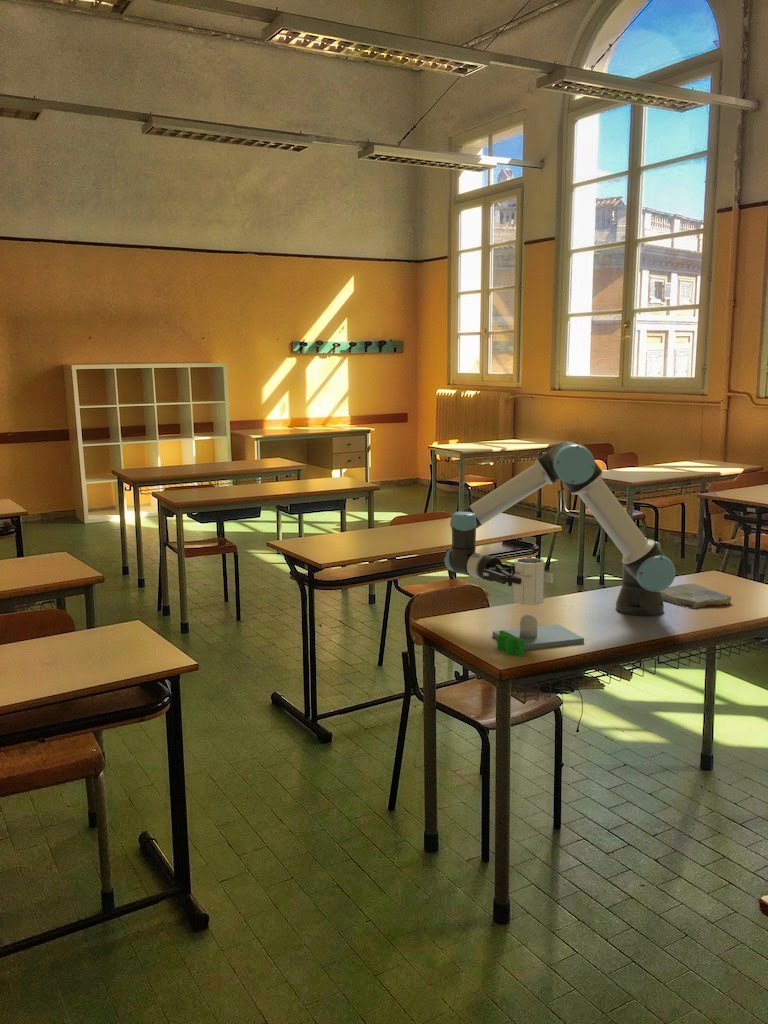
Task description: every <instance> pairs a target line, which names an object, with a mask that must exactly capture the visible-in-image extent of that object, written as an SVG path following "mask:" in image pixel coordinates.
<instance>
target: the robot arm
mask: <svg viewBox="0 0 768 1024" xmlns="http://www.w3.org/2000/svg"><path fill="white" fill-rule="evenodd" d="M602 477H603V470H602V469H601V467H600V466H599V465H598V463H597V462H596V461H595V457H594V455H593V453H592V452H591V451H590V450H589V449H588V448H587V447H586V446H584V445H582V444H579V443H576V442H574V441H562V442H559V443H558V444H556V445H554V446H553V447H552V448H550V449H549V450H547V451H546V452H545V453H544V454H542V455H540V456H539V457H538V458H536V459H535V462H534V464H532V465H531V466H529V467H527V468H526V469H525V470H524V471H521V472H519V474H517V475H515V476H514V477H512V478H511V479H509V480H508V481H506V482H505V483H503V484H501V485H500V486H498V487H496V488H495V489H493V490H492V491H490V492H489V493H488V494H486V495H485V496H484V495H483V497H481V498H480V499H478V500H476V501H475V502H473V503H472V504H470V505H469V506H467V507H466V508H464V509H461V510H459V511H456V512H454V513H453V514H452V515H451V518H450V523H449V525H450V526H449V527H450V528H451V548H450V549H448V550H447V551H446V553H445V556H444V565H445V567H446V568H447V569H448V570H449V571H451V572H454V573H456V574H460V575H465V576H469V577H473V578H476V580H483V581H488V582H496V583H499V584H502V585H507V587H512V586H513V585H514V584H516V585H520V586H524V587H528V588H532V578H529V577H525V576H520V575H516V574H515V563H512V564H508V563H502V560H500V558H499V557H496V556H492V555H488V554H484V553H479V552H476V551H477V550H476V549H477V548H476V547H477V545H476V542H477V541H476V539H477V529H479V528H480V527H481V526H483V525H484V524H486V523H488V522H489V521H490V520H492V519H494V518H495V517H497V516H498V515H500V514H501V513H504V512H505V511H506V510H508V509H510V508H511V507H513V506H514V505H516V504H517V503H519V502H521V501H523V500H524V499H525V498H527V497H529V496H530V495H532V494H533V493H535V492H536V491H538V490H539V489H541V488H543V487H544V486H546V485H554V484H555V483H557V482H558V481H561V483H562V484H563V485H564V486H565V487H566V489H567V490H568V491H569V493H570V494H571V495H576V496H577V495H578V497H579V498H580V499H581V501H582V502H583V503H584V505H585V506H586V507H587V509H588V510H589V511H590V512H591V514H592V515H593V516H594V518H595V519H596V520H597V522H598V523H599V524H600V526H601V527H602V529H603V530H604V531H605V533H606V534H607V535H608V537H609V538H610V539H611V541H612V542H613V543H614V545H615V547H617V549H618V550H619V551H620V553H621V555H622V560H621V561H622V573H621V574H622V576H621V577H622V578H621V579H622V580H621V588H620V590H619V593H618V596H617V599H616V600H615V610H616V611H618V612H620V613H623V614H627V615H634V616H648V617H649V616H656V615H660V614H662V613H664V610H665V609H664V608H665V607H664V601H663V599H662V597H661V594H660V591H662V590H665V589H666V588H668V587H671V586H672V584H673V582H674V580H675V579H676V567H675V565H674V563H673V561H672V560H671V559H670V558H669V557H667V556H666V555H665V554H664V552H663V551H662V548H661V543H660V542H658V541H655V540H654V539H649V538H647V537H646V536H645V534H644V533H643V532H642V531H641V530H640V529H639V527H638V526H637V524H636V523H635V521H634V520H633V519H632V518H631V516H630V515H629V513H628V512H627V511H626V509H625V508H624V507H623V505H622V504H621V502H620V501H619V500H618V499H617V497H616V496H615V495H614V493H613V492H612V491H611V489H610V488H609V486H608V485H607V484H606V483H605V481H604V480H603V478H602ZM544 582H545V583H548V584H553V583H554V573H551V572H547V571H544Z"/></svg>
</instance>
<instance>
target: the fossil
mask: <svg viewBox="0 0 768 1024" xmlns="http://www.w3.org/2000/svg"><path fill="white" fill-rule="evenodd" d="M660 594H661V597H662V600H664V601H666V602H669V603H671V602H672V604H674V603H675V604H674V605H676V604H679V605H678V606H680V605H682V606H681V607H683V606H684V608H686V607H688V608H687V609H690V608H691V609H696V607H697V608H700V607H699V606H702V607H706V606H707V605H708V606H712V605H713V606H723V605H722V604H727V605H729V604H731V603H732V602H731V601H732V595H728V594H724V593H721V592H718V591H715V590H713V589H710V588H707V587H705V586H702V585H700V584H699V583H698V584H697V583H685V584H677V585H671V586H669V587H668V588H666V589H665V590H662V591H660ZM728 603H729V604H728Z"/></svg>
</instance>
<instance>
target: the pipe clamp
mask: <svg viewBox="0 0 768 1024" xmlns="http://www.w3.org/2000/svg"><path fill="white" fill-rule="evenodd" d="M498 631H499V635H497V639H496V650H497V651H505V655H507V656H509V655H513V654H515V655H517V656H519V657H524V656H525V650H524V640H521V639H519V638H517V637H515V636H513V635H511V634H509V633H507V632H505V631H503V629H502V630H498Z"/></svg>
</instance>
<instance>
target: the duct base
mask: <svg viewBox="0 0 768 1024" xmlns="http://www.w3.org/2000/svg"><path fill="white" fill-rule="evenodd" d="M502 630H503V629H502ZM499 631H500V630H494V631H492V637H493V638H494V637H495V639H496V640H497V635H499ZM503 631H505V632H507V633H509V634H511V635H513V636H515V637H517V638H519V639H521V640H524V651H529V650H538V649H546V648H547V647H548V648H554V647H555V646H556V647H564V646H563V645H565V646H572V645H580V644H581V643H582V644H585V637H583V636H580V635H579V634H577V633H575V632H573V631H571V630H570V629H567V628H566V627H564V626H563V625H560V624H551V625H550V624H549V625H540V626H538V619H537V617H536V616H535V615H534V614H531V613H526V614H524V615H522V617H521V618H520V621H519V628H512V629H504V630H503ZM556 647H555V648H556Z"/></svg>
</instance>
